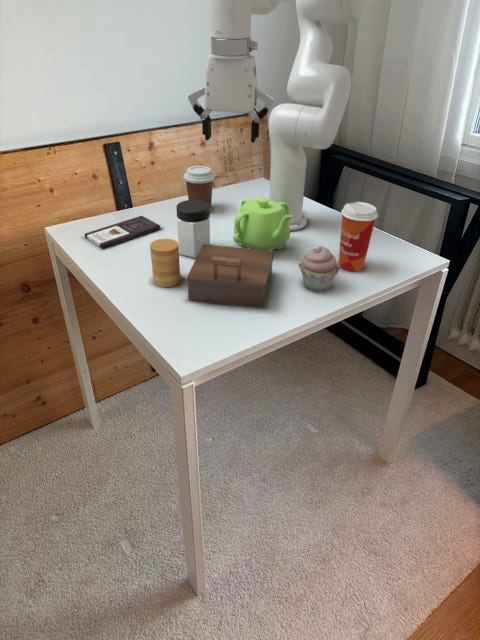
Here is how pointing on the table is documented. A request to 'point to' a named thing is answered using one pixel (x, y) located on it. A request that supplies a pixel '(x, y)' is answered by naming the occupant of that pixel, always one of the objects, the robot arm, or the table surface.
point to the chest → (229, 293)
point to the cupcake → (318, 269)
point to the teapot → (262, 224)
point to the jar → (193, 226)
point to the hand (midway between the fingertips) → (230, 139)
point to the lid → (231, 266)
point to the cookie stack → (165, 262)
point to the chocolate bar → (122, 231)
